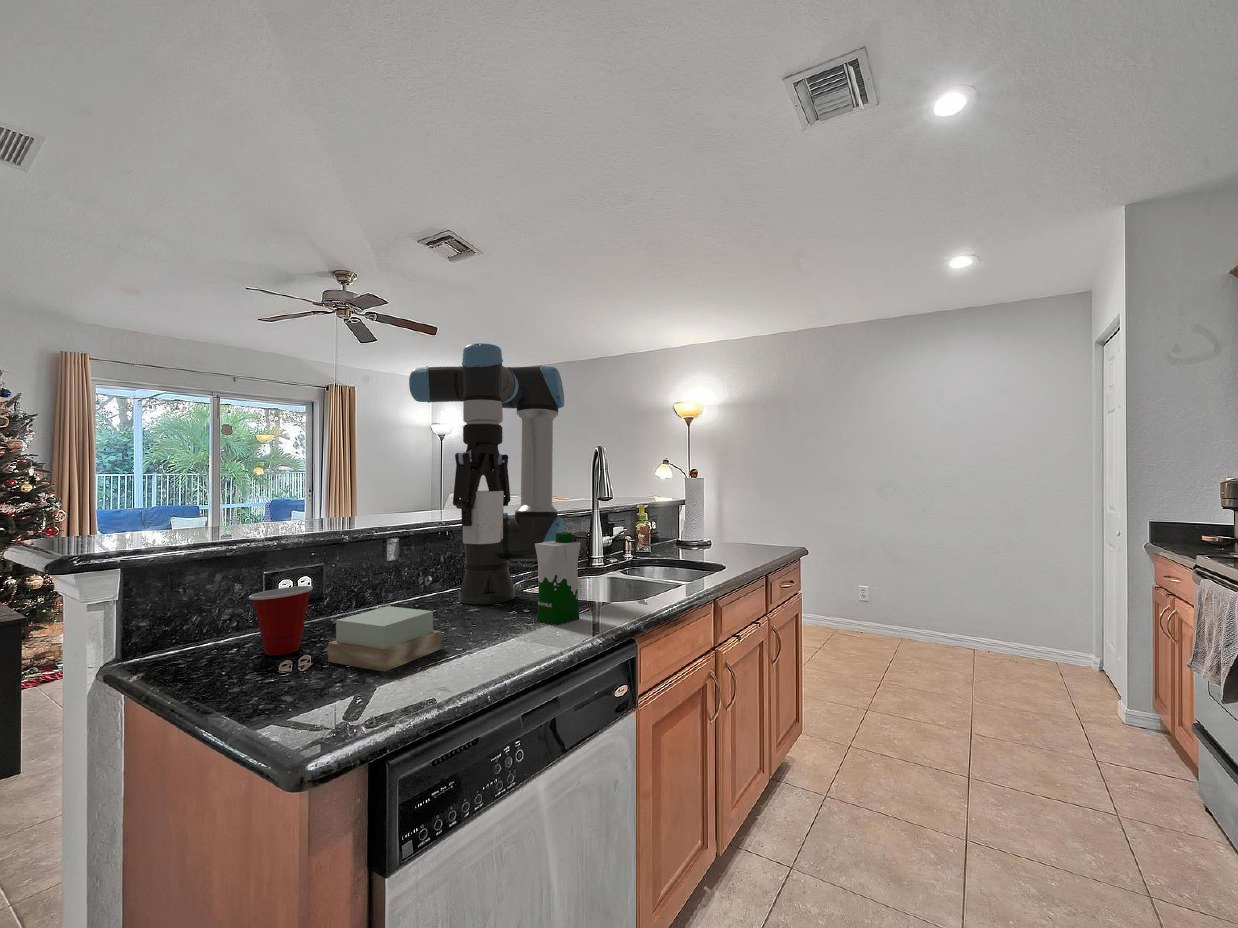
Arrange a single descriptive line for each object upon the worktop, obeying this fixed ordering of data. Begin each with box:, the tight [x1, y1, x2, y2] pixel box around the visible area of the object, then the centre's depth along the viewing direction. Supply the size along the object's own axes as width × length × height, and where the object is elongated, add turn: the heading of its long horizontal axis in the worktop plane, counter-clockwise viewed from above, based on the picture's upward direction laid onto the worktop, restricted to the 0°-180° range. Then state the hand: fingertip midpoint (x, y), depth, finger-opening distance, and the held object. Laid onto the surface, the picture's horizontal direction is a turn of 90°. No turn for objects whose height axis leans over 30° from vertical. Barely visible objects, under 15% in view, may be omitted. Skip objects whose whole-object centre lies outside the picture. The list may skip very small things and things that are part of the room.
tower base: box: [327, 629, 442, 672], centre depth 107 cm, size 14×14×4 cm
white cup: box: [468, 490, 505, 544], centre depth 111 cm, size 8×8×10 cm
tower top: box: [335, 605, 434, 649], centre depth 107 cm, size 12×12×4 cm
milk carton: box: [535, 532, 581, 626], centre depth 132 cm, size 9×9×20 cm
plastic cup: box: [248, 585, 313, 657], centre depth 110 cm, size 11×11×12 cm
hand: (483, 540), depth 111 cm, fingers closed on white cup, 7 cm apart
